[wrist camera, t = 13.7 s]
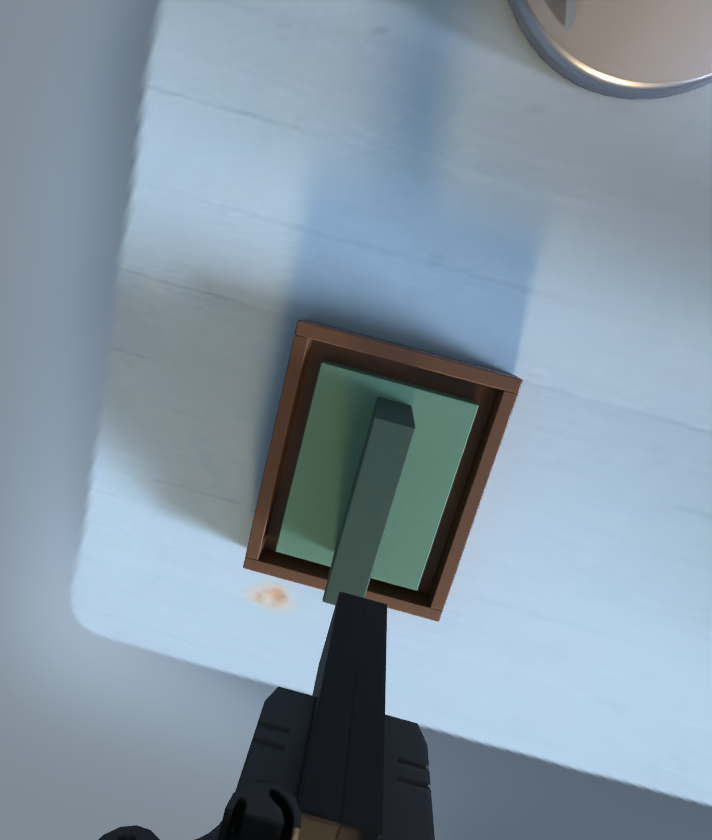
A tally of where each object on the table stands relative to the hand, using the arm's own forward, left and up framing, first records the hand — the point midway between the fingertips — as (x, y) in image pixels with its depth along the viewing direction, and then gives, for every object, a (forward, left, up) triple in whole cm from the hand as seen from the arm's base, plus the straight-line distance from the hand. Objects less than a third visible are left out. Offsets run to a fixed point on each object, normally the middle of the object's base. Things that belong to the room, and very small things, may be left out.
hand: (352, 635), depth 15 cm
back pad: (0, 0, -15) cm, 15 cm away
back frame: (0, 0, -15) cm, 15 cm away
